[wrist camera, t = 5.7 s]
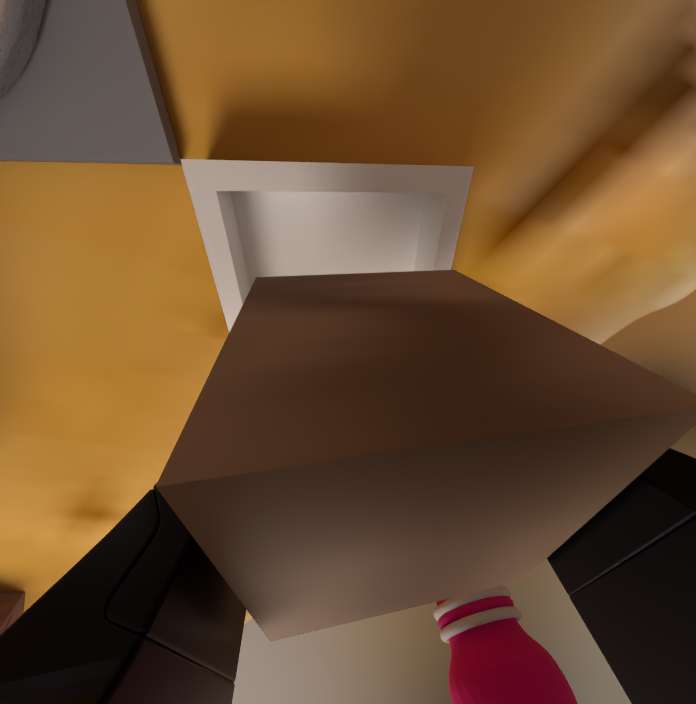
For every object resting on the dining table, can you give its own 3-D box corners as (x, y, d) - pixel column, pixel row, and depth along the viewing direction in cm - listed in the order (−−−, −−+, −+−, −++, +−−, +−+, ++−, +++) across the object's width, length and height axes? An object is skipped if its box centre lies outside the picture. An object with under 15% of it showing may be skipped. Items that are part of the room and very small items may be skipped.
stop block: (283, 423, 10) (270, 641, 5) (256, 277, 7) (156, 486, 2) (421, 406, 11) (520, 581, 6) (453, 269, 8) (718, 405, 3)
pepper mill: (357, 443, 25) (470, 940, 8) (420, 406, 24) (705, 918, 7) (391, 471, 29) (515, 853, 12) (447, 441, 27) (673, 827, 11)
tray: (254, 368, 18) (247, 397, 16) (205, 165, 12) (180, 158, 9) (410, 355, 20) (426, 378, 18) (442, 170, 14) (474, 166, 11)
